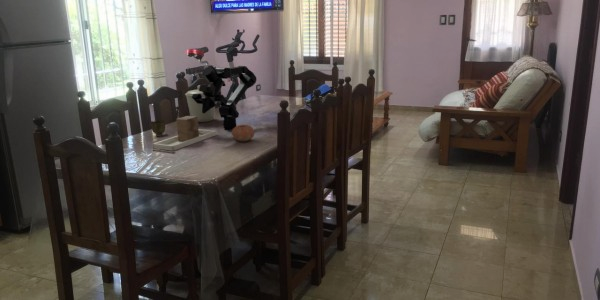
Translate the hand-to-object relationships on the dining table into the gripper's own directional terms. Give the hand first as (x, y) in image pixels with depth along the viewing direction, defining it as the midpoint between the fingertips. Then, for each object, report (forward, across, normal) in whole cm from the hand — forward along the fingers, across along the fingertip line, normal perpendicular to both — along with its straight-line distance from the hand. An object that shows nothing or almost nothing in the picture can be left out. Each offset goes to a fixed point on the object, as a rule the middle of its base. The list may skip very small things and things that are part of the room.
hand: (203, 113), depth 237 cm
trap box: (+19, 0, -1) cm, 19 cm away
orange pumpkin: (+8, +22, +10) cm, 26 cm away
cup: (+14, -24, +4) cm, 28 cm away
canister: (-15, -29, +33) cm, 47 cm away
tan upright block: (+16, 0, -1) cm, 16 cm away
